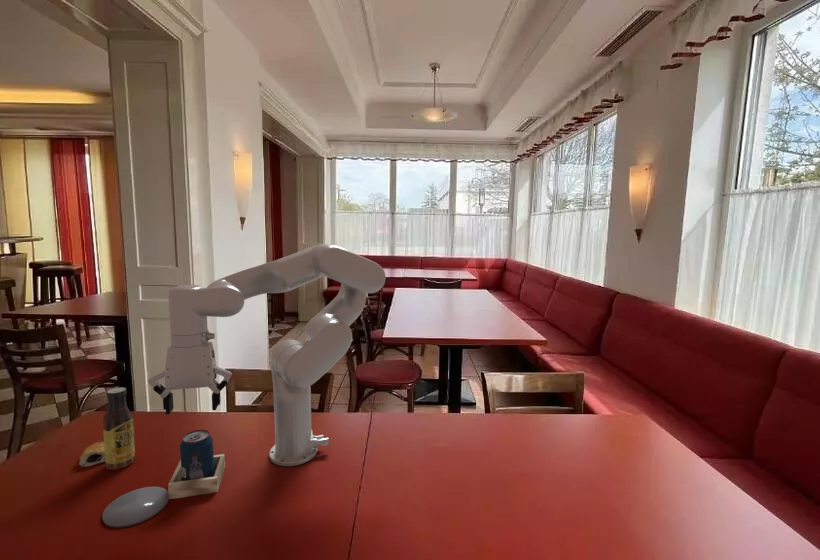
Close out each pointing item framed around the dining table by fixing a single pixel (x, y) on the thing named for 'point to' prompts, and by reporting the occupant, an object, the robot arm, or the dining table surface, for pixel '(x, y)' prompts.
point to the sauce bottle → (118, 431)
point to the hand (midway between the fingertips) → (192, 409)
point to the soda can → (197, 455)
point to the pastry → (92, 455)
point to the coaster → (135, 507)
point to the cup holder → (196, 481)
